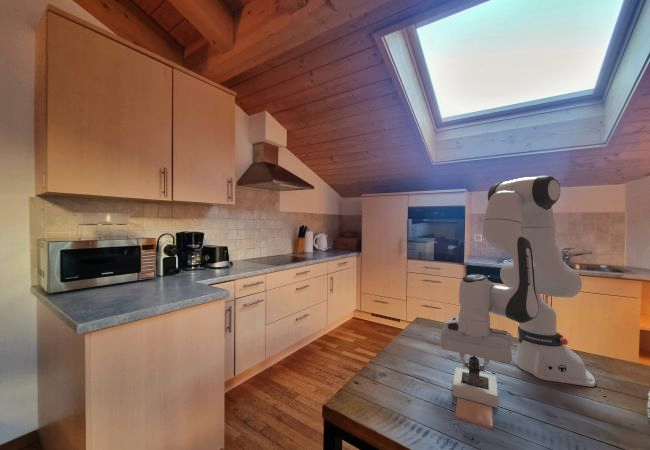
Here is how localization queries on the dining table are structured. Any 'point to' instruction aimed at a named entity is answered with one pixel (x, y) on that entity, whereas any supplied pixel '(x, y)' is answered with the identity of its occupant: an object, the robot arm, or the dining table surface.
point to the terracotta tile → (474, 413)
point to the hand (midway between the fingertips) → (474, 368)
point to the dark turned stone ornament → (474, 373)
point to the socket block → (476, 388)
